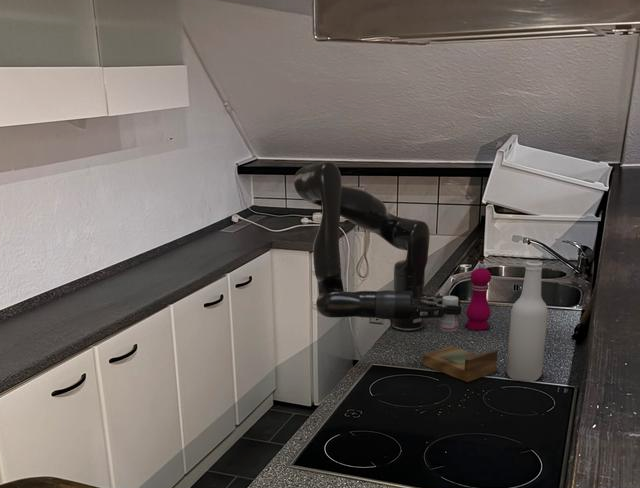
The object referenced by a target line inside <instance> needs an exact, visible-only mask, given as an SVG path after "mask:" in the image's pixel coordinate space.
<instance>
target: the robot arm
mask: <svg viewBox="0 0 640 488" xmlns="http://www.w3.org/2000/svg"><path fill="white" fill-rule="evenodd" d="M342 184H343V182H342V174H341V171H340V169H339V168H338V166H337V165H336V164H335V163H334V162H332V161H323V162H318V163H314V164H309V165H305V166H303V167H301V168H300V169H299V170H298V171H296V173H295V175H294V177H293V186H294V189H295V191H296V193H297V195H298V196H299V197H300V198H301V199H303V200H304V201H306V202H307V203H311V204H313V205H317V206H319V207H321V209H322V210H321V211H322V212H321V218H320V219H321V220H320V223H319V225H318V226H319V227H318V230H317V233H316V234H315V238H314V241H313V245H312V246H313V247H312V260H313V269H314V276H315V279H316V281H317V290H318V291H317V292H318V297H317V298H316V303H315V304H316V305H315V308H316V309H317V311H318V313H319V314H320V315H321V316H323V317H325V318H336V319H337V318H352V317H353V318H354V317H355V318H367V319H381V320H389V322H390V326H391V327H392V329H395V330H397V331H401V332H414V331H419V330H421V329H423V328H424V319H438V318H439V319H440V318H442V317H443V316H444V315H446V314H452V315H459V316H460V315H461V314H462V306H461V302H462V301H461V300H460V299H458V305H459V306H456V305H441V304H443V303H442V299H443V297H444V296H443V295H436V294H435V295H434V294H425V276H426V275H425V274H426V267H427V265H428V259H429V249H430V248H429V247H430V236H431V235H430V233H431V232H430V228H429V225H428V223H427V222H425V221H423V220H418V219H410V218H405V217H400V216H397V215H394V214H393V213H391V212H389V211H388V209H387V206H386V205H385V203H384V202H383V201H382V200H381V199H379V198H378V197H377V196H376V195H373V194H372V193H370V192H368V191H365V190H363V189H358V188H356V187H355V188H354V187H349V186H343V185H342ZM341 217H342V218H343V219H345V220H347V221H349V222H350V223H352V224H353V225H355V226H357V227H358V228H359V227H360V228H361V229H363V230H365V231H367V232H370V233H372V234H375V235H377V236H379V237H380V238H381V239H383V240H384V241H385V242H387V243H388V244H390V246H393V247H394V248H395V249H398V250H402V251H406V257H405V259H403V260H399V261H396V262H395V263H394V264H393V290H389V289H388V290H387V289H386V290H377V291H376V290H359V291H358V290H357V291H345V290H344V284H343V279H342V264H341V263H342V262H341V253H340V223H341ZM393 324H394V325H393Z"/></svg>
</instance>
